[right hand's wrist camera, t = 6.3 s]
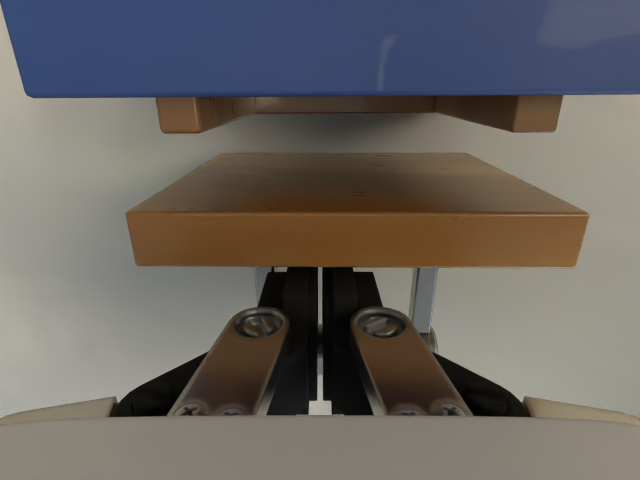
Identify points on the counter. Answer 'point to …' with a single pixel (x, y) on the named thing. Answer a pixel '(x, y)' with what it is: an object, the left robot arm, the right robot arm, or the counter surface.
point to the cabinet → (324, 47)
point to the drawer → (357, 200)
